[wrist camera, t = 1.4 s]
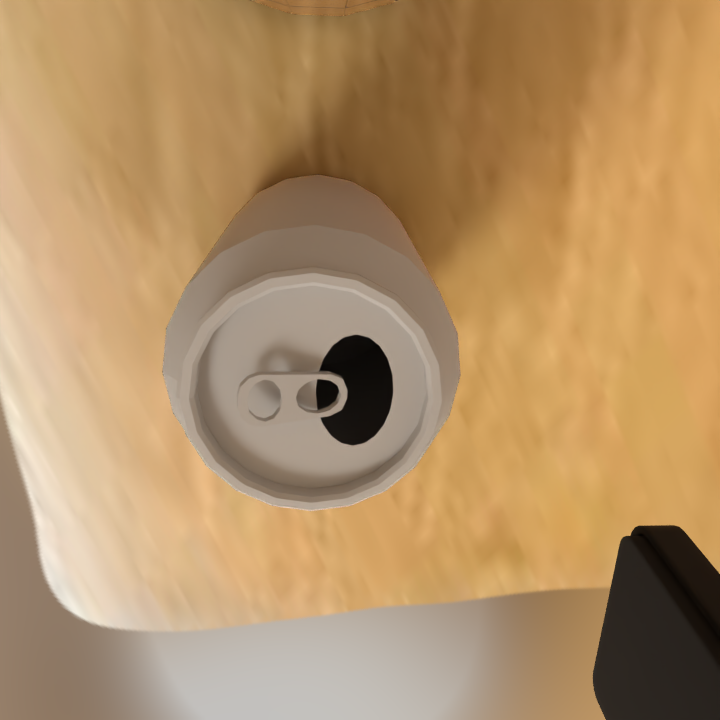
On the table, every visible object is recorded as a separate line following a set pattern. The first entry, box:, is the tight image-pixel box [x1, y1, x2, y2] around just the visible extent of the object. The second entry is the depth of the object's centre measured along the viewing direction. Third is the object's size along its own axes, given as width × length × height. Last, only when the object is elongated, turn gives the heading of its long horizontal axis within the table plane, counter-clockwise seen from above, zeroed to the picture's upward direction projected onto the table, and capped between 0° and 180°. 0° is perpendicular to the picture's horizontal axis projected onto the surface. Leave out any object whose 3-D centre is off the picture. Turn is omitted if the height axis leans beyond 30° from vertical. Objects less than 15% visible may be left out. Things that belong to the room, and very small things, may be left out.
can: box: [162, 175, 460, 511], centre depth 21 cm, size 8×8×12 cm
